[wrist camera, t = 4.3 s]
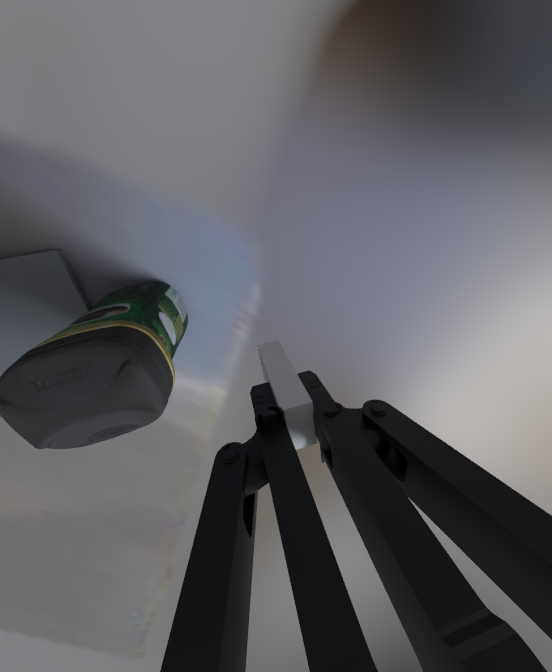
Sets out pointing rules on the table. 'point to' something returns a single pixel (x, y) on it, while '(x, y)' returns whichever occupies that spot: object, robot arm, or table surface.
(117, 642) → the table surface
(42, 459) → the table surface
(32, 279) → the rubber mat
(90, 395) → the coffee jar
